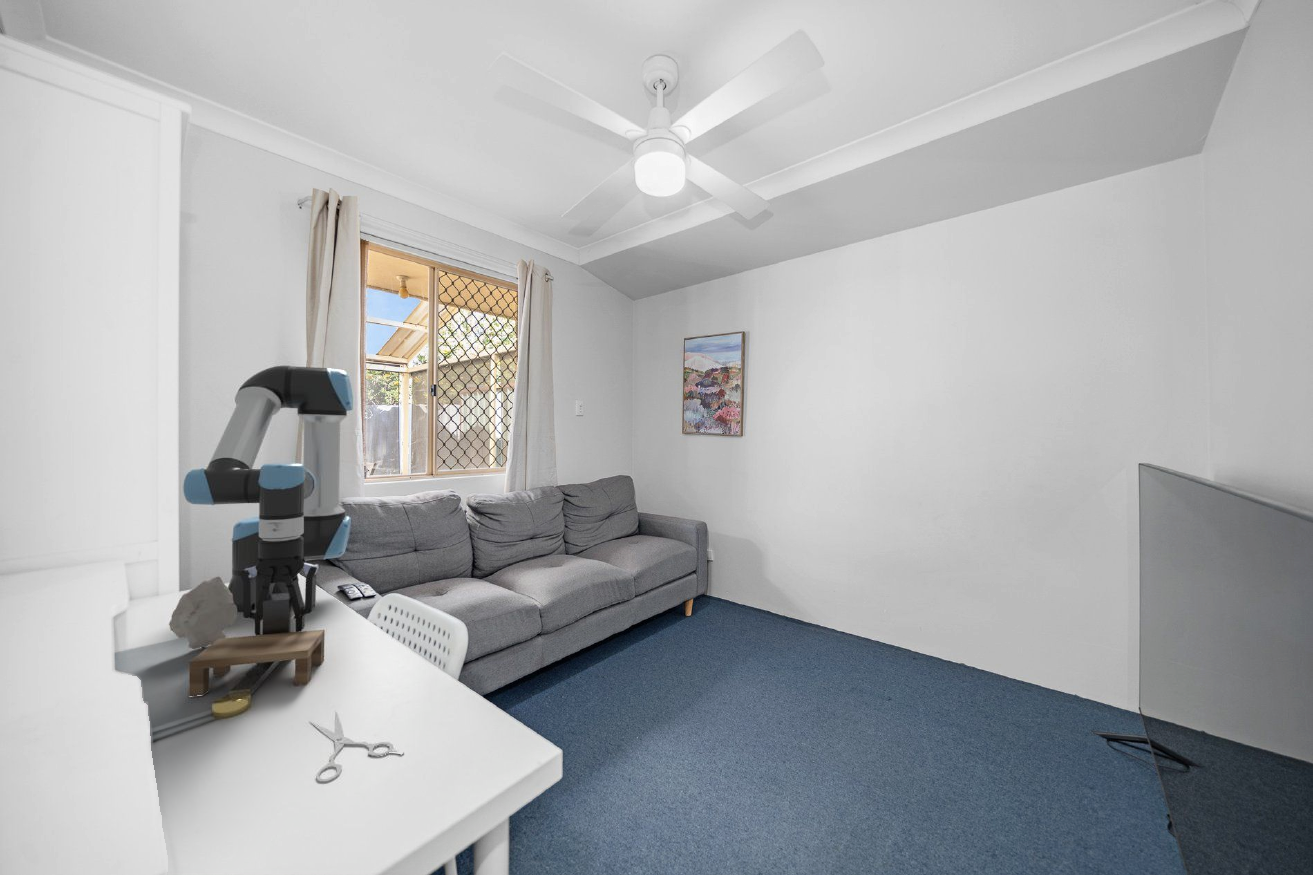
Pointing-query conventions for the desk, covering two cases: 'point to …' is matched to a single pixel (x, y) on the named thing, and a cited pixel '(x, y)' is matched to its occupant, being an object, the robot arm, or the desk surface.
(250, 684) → the dark grey l-shaped block
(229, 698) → the disc
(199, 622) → the stone tool
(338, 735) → the scissors
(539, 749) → the desk surface
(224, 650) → the stand
